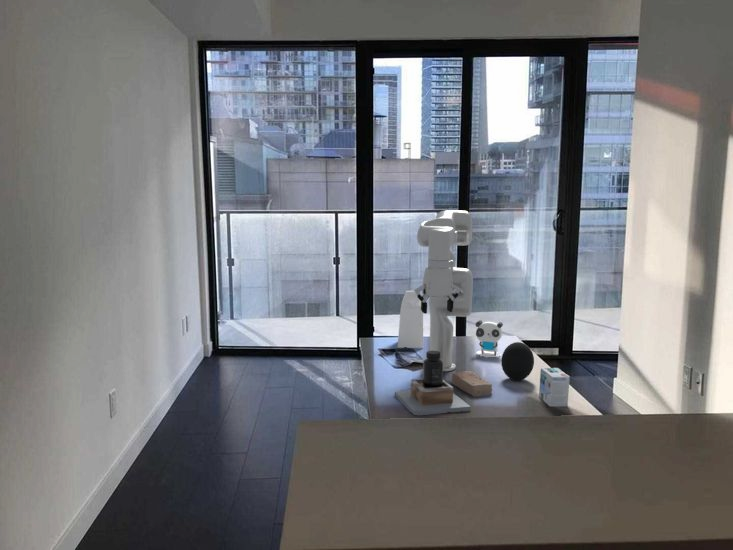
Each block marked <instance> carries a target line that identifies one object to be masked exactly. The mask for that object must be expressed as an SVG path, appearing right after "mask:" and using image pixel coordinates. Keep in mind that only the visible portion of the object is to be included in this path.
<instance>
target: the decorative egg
mask: <svg viewBox="0 0 733 550" xmlns="http://www.w3.org/2000/svg"><path fill="white" fill-rule="evenodd" d="M534 364H535V357H534V353H533V351H532V350H531V347H529V345H527V344H525V343H524V342H521V341H516V342H513V343H510V344H509V345H507V346H506V347H505V349H504V351H502V356H501V364H500V365H501V367H502V368H501V369H502V371H503V373H504V374H505V376H506V377H507V378H508V379H510V380H512V381H522V380H524V379H526V378H528V377H529V376H530V374H531V373H532V371H533V368H534V366H535V365H534Z"/></svg>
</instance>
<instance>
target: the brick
mask: <svg viewBox="0 0 733 550" xmlns="http://www.w3.org/2000/svg"><path fill="white" fill-rule="evenodd" d="M451 383H452V384H453V385H454V386H456V387H457V388H459V389H460V390H462V391H463V392H465V391H466V392H465V393H467V392H468V393H469V395H470V394H471V396H472V397H481V396H480V395H483V396H491V395H493V394H492V391H493V384H492V383H490V382H489V381H487V380H486V379H483V378H482V377H480V376H478V375H477V374H476V373H475V372H474V371H471V370H463V371H457V372H452V374H451ZM468 393H467V394H468Z"/></svg>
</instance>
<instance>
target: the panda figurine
mask: <svg viewBox="0 0 733 550" xmlns="http://www.w3.org/2000/svg"><path fill="white" fill-rule="evenodd" d="M503 325H504V324H503V322H494V321H482V320H481V319H480V320H478V321H477V322H475V327H477V329H476V331H475V336H476V338H477V340H478V341H479V343H478V344H479V346H480V347H481V349H480V350H477V351H476V353H475V355H477V354H478V355H477V356H479V355H480V357H482V356H484V357H483V358H488V357H496V358H500V357H499V356H496V354H497V353H498V352H499V351H498V345H499V343H498V342H499V341H500V340H501V338H502V336H503V329H502V327H503ZM501 354H502V353H501ZM501 354H500V356H501ZM501 357H502V356H501Z"/></svg>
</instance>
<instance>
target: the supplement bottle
mask: <svg viewBox="0 0 733 550" xmlns="http://www.w3.org/2000/svg"><path fill="white" fill-rule="evenodd" d="M425 354H426V356H425V357H426V358H425V359H424V360H423V363H422V365H423V366H422V379H423V386H424V387H426V388H437V387H442V385H443V380H444V371H443V362H442V360H441V359H440V358H441V356H440V352H439V351H429V350H428V351H426V353H425Z"/></svg>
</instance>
